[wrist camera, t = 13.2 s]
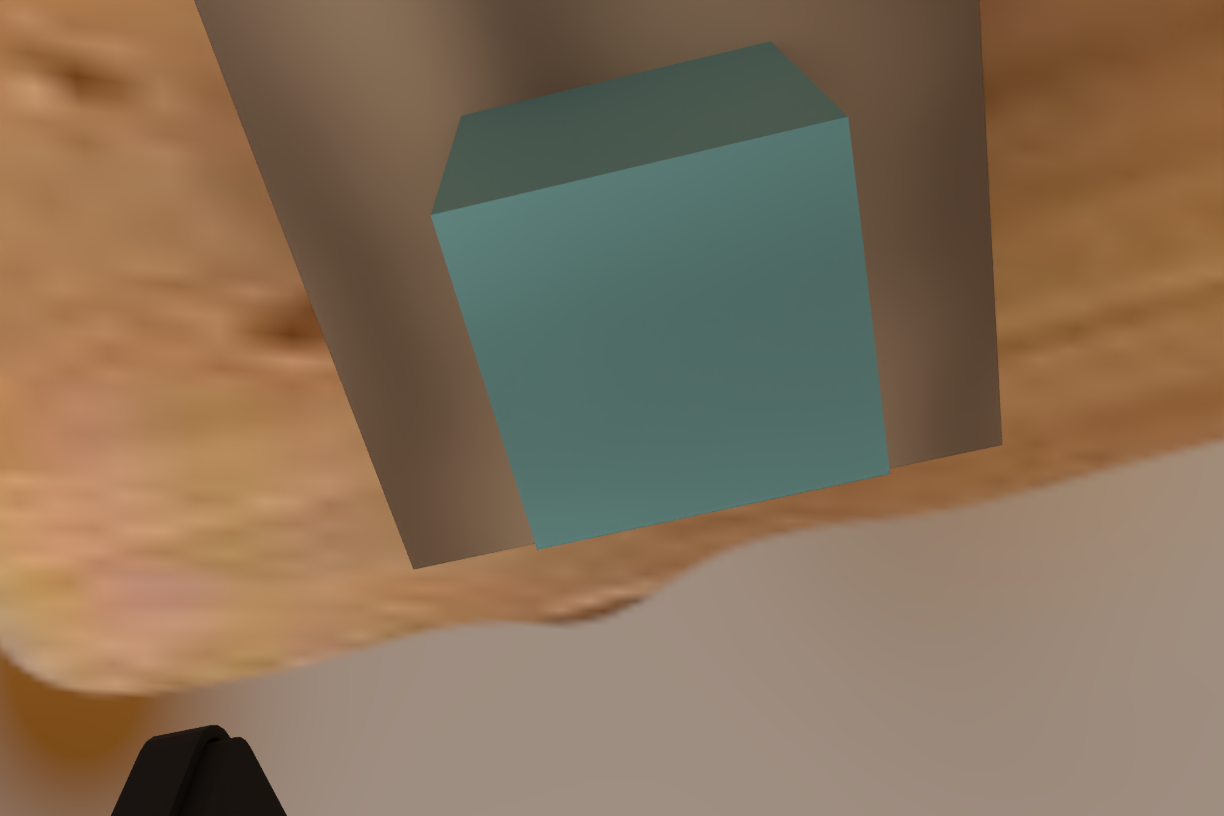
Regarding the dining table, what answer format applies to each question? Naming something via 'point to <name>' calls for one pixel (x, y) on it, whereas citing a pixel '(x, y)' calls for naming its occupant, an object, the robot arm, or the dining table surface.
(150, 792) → the robot arm
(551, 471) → the teal cube
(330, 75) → the walnut block
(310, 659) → the dining table surface
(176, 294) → the dining table surface
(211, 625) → the dining table surface
